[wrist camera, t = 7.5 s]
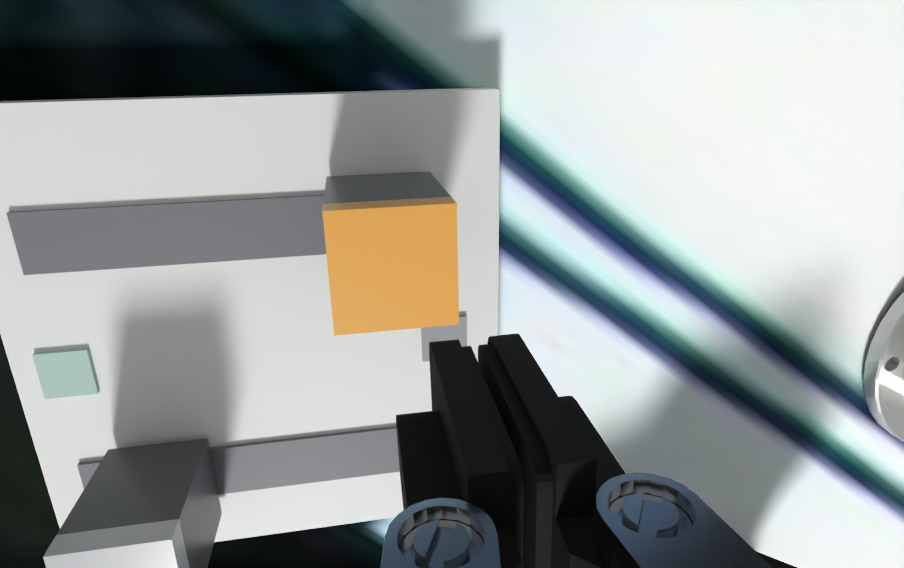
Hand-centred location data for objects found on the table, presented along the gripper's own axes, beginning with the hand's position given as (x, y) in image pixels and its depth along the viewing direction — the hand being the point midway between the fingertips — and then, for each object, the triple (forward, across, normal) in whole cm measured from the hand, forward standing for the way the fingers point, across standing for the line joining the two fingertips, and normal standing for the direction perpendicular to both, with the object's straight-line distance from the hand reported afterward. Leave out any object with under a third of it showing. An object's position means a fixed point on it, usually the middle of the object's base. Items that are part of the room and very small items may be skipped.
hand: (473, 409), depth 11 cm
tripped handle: (+14, +1, 0) cm, 14 cm away
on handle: (+14, +11, +11) cm, 21 cm away
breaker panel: (+16, +6, +5) cm, 18 cm away
